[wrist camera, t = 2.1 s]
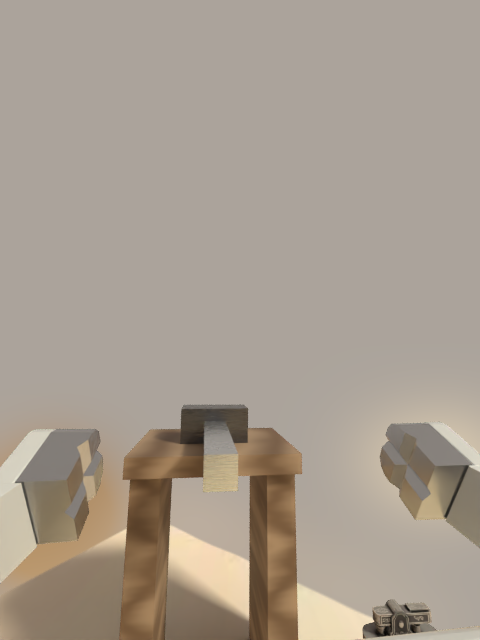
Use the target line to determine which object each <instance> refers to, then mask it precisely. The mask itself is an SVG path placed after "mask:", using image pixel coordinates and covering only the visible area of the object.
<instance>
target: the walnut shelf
mask: <svg viewBox="0 0 480 640" xmlns="http://www.w3.org/2000/svg"><path fill="white" fill-rule="evenodd" d="M180 435H181V429H161V430H160V429H159V430H158V429H157V430H149V432H148V433H147V434H146V435H145V436H144V437H143V438H142V439H141V440H140V441H139V442H138V443H137V445H136V446H135V447H134V448H133V449H132V450H131V451H130V452H129V453H128V454H127V455H126V456H125V458H124V468H123V480H130V491H129V505H128V506H129V507H128V521H127V535H126V549H125V564H124V578H123V593H122V608H121V622H120V637H119V640H165V619H166V597H167V575H168V554H169V532H170V509H171V488H172V478H190V477H191V478H193V477H203V460H204V444H180ZM234 445H235V447H236V450H237V452H238V476H250V584H249V637H250V640H298V614H297V573H296V572H297V568H296V522H295V474H302V454H301V453H300V452H299V451H298V450H297V449H296V448H294V447H293V446H292V445H291V444H290V443H289V442H287V441H286V440H285V439H284V438H283V437H282V436H280V435H279V434H278V433H277V432H276V431H275V430H274V429H272V428H248V443H234Z"/></svg>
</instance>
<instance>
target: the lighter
mask: <svg viewBox="0 0 480 640" xmlns="http://www.w3.org/2000/svg"><path fill="white" fill-rule="evenodd" d="M373 620H374V622H373V623H369V624H366V625H364V627H363V639H366V638H375V637H384V636H393V635H402V634H411V633H420V632H429V631H437V630H436V629H435V628H434V627H432V626H431V625H430V624H428V623H431V611H430V609H429V608H428V606H427V605H426V604H425V603H405V605H398V603H397V602H396V601H395V600H388V601H387V602H386V604H385V606H374V607H373Z"/></svg>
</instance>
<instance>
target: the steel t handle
mask: <svg viewBox="0 0 480 640" xmlns="http://www.w3.org/2000/svg"><path fill="white" fill-rule="evenodd" d="M234 443H248V408H247V407H246V406H244V405H184V406H183V407H182V411H181V435H180V444H204V460H203V492H222V491H238V452H237V450H236V447H235V445H234Z"/></svg>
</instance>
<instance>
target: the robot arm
mask: <svg viewBox="0 0 480 640" xmlns="http://www.w3.org/2000/svg"><path fill="white" fill-rule="evenodd" d="M386 437H387V439H388V440H389V441H388V442H387V443H386V444H385V445H384V446H383V447H382V450H381V454H380V461H381V467H382V469H383V472H384V474H385V476H386V477H387V479H388V480H389V482H390V483H392V484H393V485H395V486H396V487H397V488H399V489H400V491H399V497H400V498H401V500H402V501H403V503H404V504H405V506H406V507H407V508H408V510H409V511H410V513H411V514H412V516H413V517H414V519H415V520H426V519H427V520H428V519H446V521H447V522H448V523H449V524H450V525H452V526H453V527H454V528H455V529H457V530H458V531H459V532H460V533H462V534H463V535H464V536H465V537H467V538H468V539H469V540H470V541H472V542H473V543H474V544H475V545H476V546H478V547H479V548H480V454H479V453H478V452H477V451H476V450H475V449H474V448H473V447H472V446H470V445H469V444H468V443H467V442H466V441H465V440H463V439H462V438H461V437H460V436H459V435H458V434H457V433H456V432H454V431H453V430H452V429H451V428H450V427H449V426H448V425H446V424H444V423H442V422H425V423H403V424H391V425H390V426H389V427H388V429H387V432H386ZM99 444H100V436H99V431H97V430H96V429H56V430H54V429H47V430H46V429H37V430H36V429H35V430H33V431H31V432H29V433H28V434H27V435H26V437H25V438H24V439H23V440H22V442H21V443H20V444H19V445H18V446H17V448H16V449H15V450H14V451H13V452H12V454H11V455H10V456H9V457H8V458H7V460H6V461H5V462H4V463H3V465H2V466H1V467H0V583H1V582H2V581H3V580H4V579H5V578H6V577H7V576H8V575H9V574H10V573H11V572H12V571H13V570H14V569H15V568H16V567H17V566H18V565H19V564H20V563H21V562H22V561H23V560H24V559H25V558H26V557H27V556H28V555H29V554H30V553H31V552H32V551H33V550H34V549H35V548H36V547H37V544H45V543H56V542H67V541H78V539H79V536H80V534H81V531H82V529H83V526H84V524H85V521H86V519H87V516H88V514H89V508H88V501H90V500H91V499H92V498H93V497H94V496H95V495H96V494H97V491H98V488H99V486H100V481H101V477H102V472H103V458H102V455H101V454H100V453H99V452H98V451H97V448H98V446H99ZM357 640H480V626H475V627H466V628H457V629H448V630H439V631H429V632H420V633H411V634H402V635H393V636H384V637H375V638H366V639H357Z"/></svg>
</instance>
